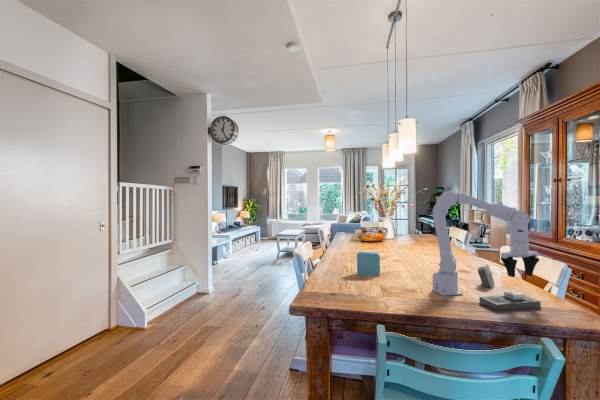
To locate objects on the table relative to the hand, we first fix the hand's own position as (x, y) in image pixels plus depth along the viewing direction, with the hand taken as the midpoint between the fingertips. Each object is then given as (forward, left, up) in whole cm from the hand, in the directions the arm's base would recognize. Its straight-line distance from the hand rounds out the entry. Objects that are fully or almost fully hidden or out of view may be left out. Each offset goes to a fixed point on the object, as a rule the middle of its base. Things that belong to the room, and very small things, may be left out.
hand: (520, 275), depth 109 cm
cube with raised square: (-6, -2, -10) cm, 12 cm away
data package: (-43, +50, -11) cm, 66 cm away
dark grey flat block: (-8, -3, -10) cm, 13 cm away
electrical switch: (+4, +21, -11) cm, 24 cm away
